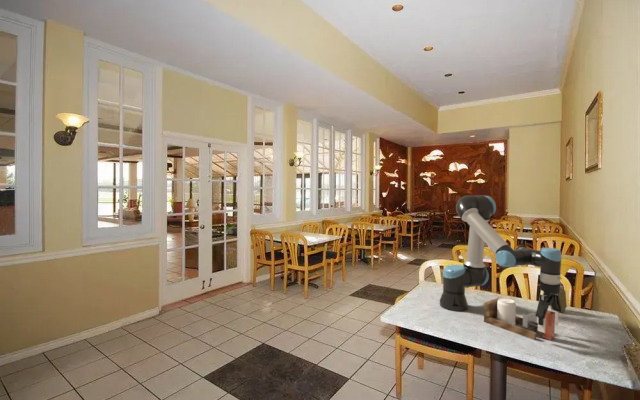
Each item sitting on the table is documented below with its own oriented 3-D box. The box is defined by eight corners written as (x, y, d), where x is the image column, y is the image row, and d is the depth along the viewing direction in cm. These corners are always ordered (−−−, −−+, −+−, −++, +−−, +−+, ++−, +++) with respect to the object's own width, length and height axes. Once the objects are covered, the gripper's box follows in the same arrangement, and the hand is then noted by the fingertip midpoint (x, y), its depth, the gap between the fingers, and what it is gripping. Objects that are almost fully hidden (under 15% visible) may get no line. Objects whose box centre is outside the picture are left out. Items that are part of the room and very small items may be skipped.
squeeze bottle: (551, 312, 177) (552, 280, 176) (546, 307, 184) (547, 276, 184) (568, 314, 174) (569, 281, 173) (563, 309, 181) (564, 278, 181)
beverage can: (517, 327, 157) (518, 303, 157) (500, 326, 159) (500, 302, 158) (511, 321, 165) (512, 298, 165) (494, 319, 167) (495, 297, 166)
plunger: (522, 332, 151) (523, 308, 151) (532, 328, 156) (532, 303, 156) (547, 342, 142) (548, 315, 142) (557, 336, 147) (557, 310, 147)
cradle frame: (483, 321, 164) (484, 302, 164) (498, 315, 172) (498, 297, 172) (534, 339, 145) (535, 318, 144) (548, 332, 152) (548, 311, 152)
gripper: (547, 289, 135) (545, 338, 136) (570, 280, 149) (569, 324, 150) (527, 284, 142) (526, 331, 143) (552, 276, 155) (550, 318, 156)
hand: (548, 328), depth 146 cm, fingers open, 13 cm apart
